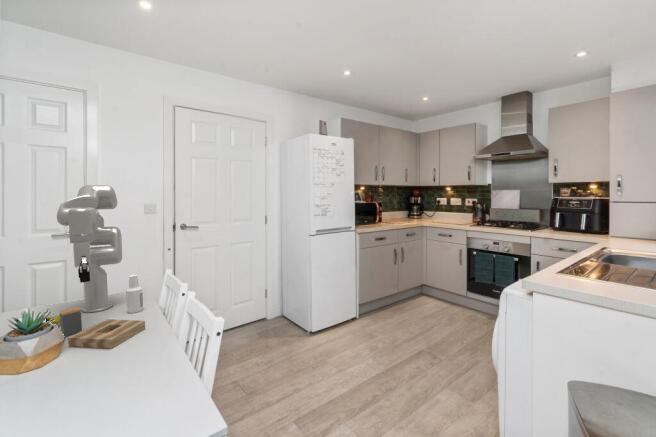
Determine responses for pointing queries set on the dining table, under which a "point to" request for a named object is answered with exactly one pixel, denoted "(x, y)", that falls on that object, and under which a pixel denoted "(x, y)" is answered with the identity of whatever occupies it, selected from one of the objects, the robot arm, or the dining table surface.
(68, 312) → the key peg
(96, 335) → the socket block
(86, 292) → the robot arm
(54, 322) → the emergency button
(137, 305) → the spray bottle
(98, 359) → the dining table surface
